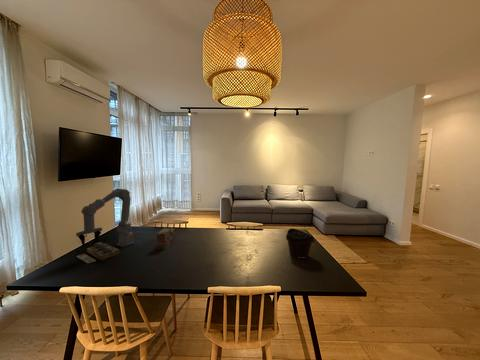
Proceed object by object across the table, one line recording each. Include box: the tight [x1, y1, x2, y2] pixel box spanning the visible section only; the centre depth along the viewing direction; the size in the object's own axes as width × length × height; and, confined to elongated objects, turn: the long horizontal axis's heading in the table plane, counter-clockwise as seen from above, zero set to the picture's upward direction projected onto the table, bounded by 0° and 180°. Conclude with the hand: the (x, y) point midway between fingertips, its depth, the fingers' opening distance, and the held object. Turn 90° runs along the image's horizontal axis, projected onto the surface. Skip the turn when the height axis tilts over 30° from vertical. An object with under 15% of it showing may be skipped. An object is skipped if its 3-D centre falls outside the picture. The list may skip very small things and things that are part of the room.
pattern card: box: [76, 253, 97, 264], centre depth 142 cm, size 5×17×1 cm, turn 57°
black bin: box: [285, 228, 315, 260], centre depth 154 cm, size 18×20×18 cm
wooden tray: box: [86, 242, 120, 261], centre depth 150 cm, size 12×20×3 cm, turn 57°
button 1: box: [94, 242, 103, 249], centre depth 154 cm, size 4×4×3 cm
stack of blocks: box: [156, 227, 176, 250], centre depth 170 cm, size 21×6×12 cm, turn 177°
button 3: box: [104, 245, 112, 253], centre depth 147 cm, size 4×4×3 cm
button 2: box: [99, 243, 107, 251], centre depth 150 cm, size 4×4×3 cm
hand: (90, 243), depth 143 cm, fingers open, 7 cm apart
